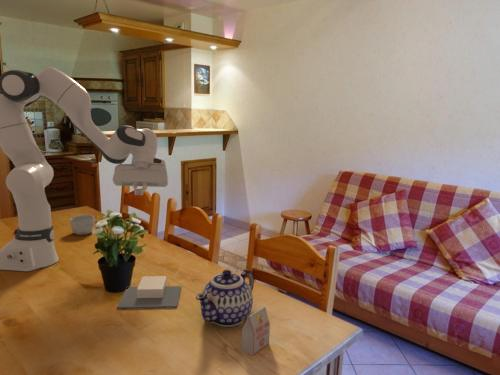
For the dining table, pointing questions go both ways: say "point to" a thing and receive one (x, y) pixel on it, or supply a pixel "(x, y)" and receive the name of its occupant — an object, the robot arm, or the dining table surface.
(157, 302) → the slate mat
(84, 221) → the teacup
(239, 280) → the teapot
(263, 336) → the grey gable-top carton
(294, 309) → the dining table surface
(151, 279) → the ceramic tile
